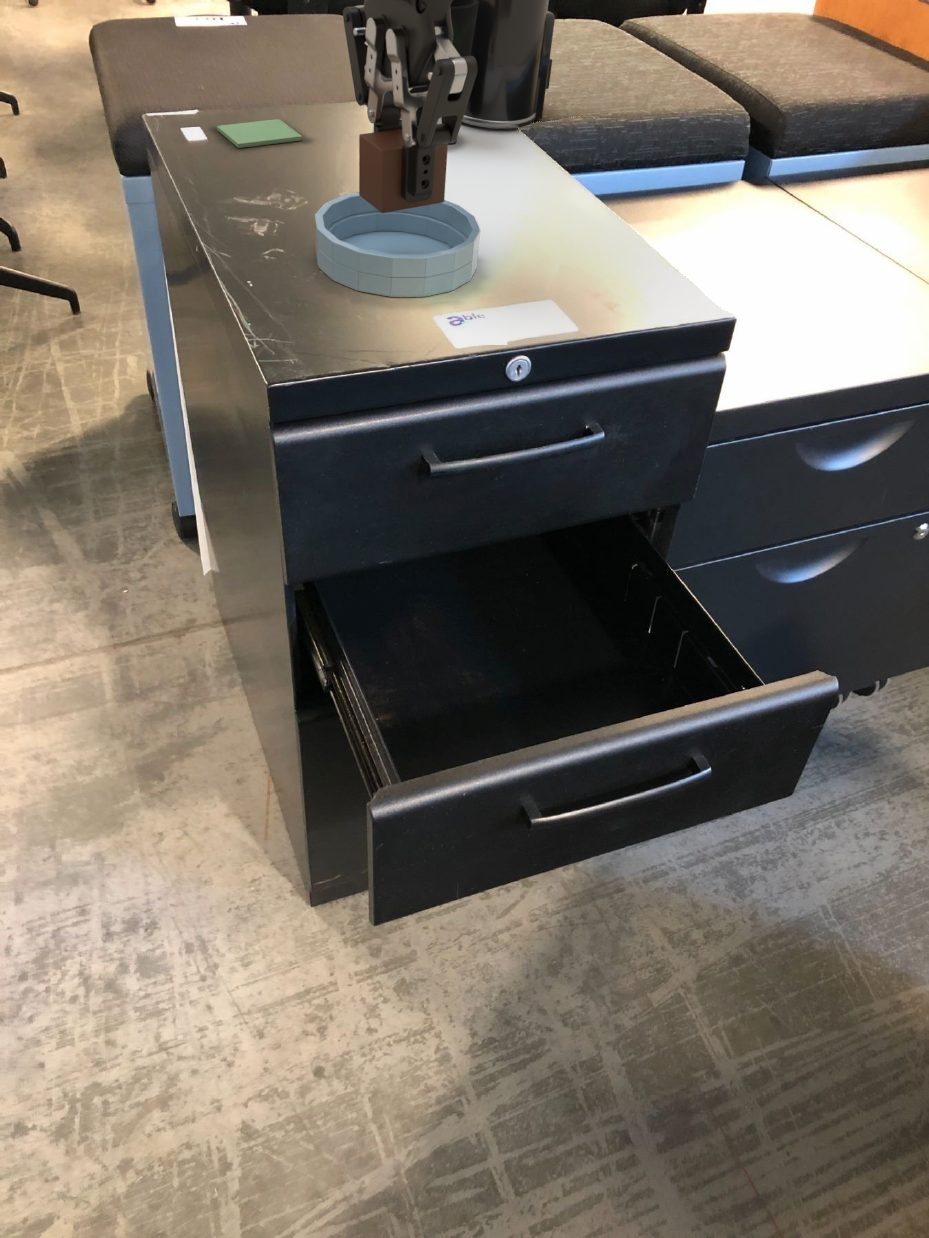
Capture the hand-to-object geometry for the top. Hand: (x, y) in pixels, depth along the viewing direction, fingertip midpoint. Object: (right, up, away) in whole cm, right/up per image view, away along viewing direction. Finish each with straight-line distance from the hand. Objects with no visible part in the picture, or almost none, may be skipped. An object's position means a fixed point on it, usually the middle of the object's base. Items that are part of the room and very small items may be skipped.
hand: (401, 187), depth 70 cm
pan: (-1, -4, +4) cm, 6 cm away
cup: (+1, +16, +25) cm, 29 cm away
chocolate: (0, -1, +1) cm, 1 cm away
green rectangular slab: (-15, +15, +22) cm, 30 cm away
